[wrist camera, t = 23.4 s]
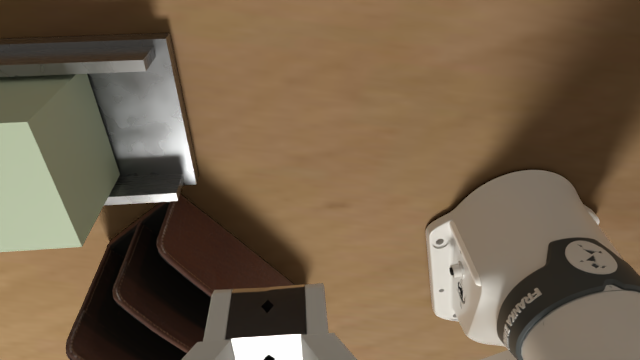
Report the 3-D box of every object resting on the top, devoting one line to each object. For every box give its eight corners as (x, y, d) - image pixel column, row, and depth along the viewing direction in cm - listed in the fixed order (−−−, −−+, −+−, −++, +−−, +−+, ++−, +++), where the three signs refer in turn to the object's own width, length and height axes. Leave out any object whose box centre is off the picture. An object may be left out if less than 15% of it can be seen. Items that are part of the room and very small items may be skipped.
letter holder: (243, 329, 54) (235, 452, 42) (108, 240, 44) (48, 368, 32) (306, 291, 51) (316, 412, 39) (176, 187, 41) (138, 307, 29)
